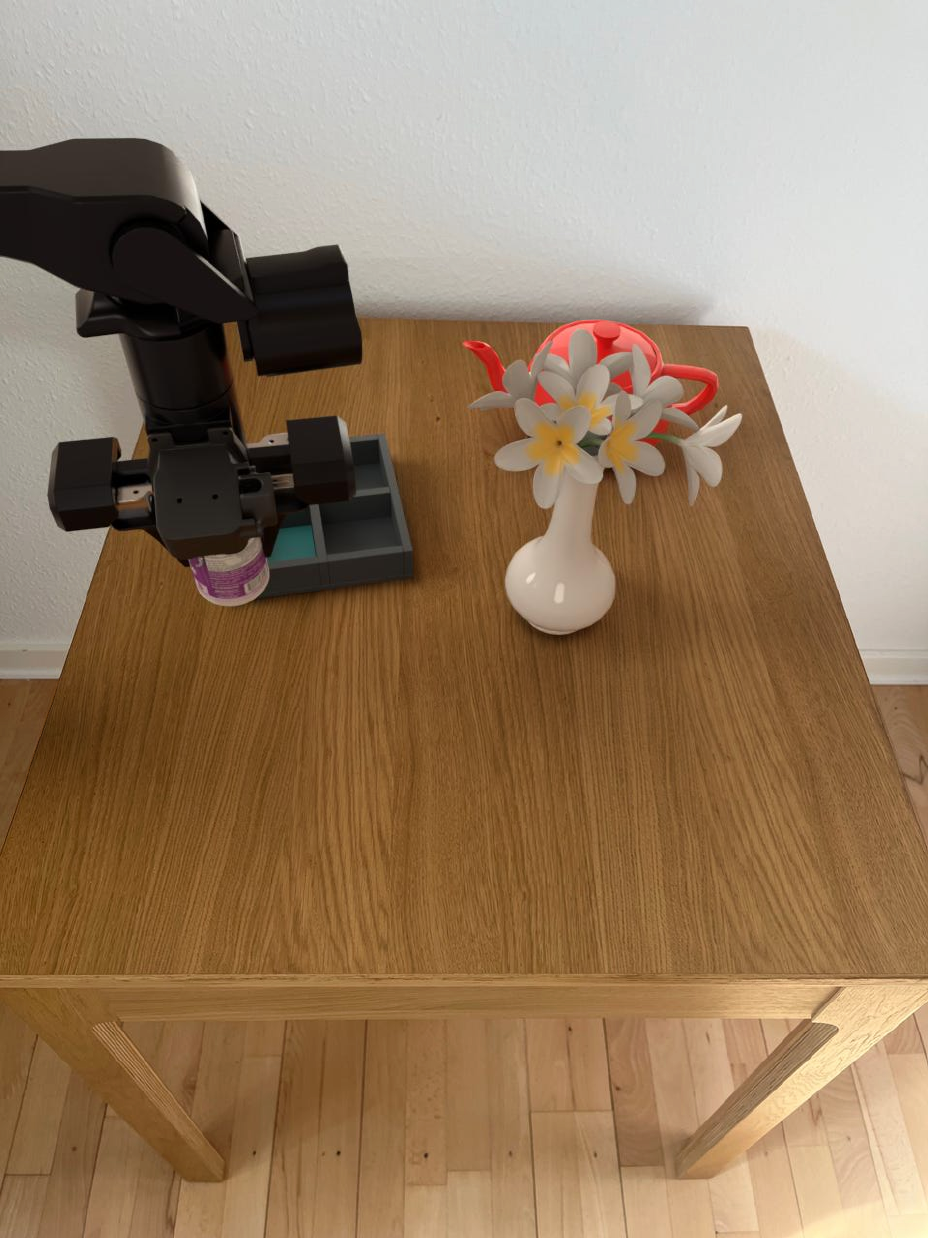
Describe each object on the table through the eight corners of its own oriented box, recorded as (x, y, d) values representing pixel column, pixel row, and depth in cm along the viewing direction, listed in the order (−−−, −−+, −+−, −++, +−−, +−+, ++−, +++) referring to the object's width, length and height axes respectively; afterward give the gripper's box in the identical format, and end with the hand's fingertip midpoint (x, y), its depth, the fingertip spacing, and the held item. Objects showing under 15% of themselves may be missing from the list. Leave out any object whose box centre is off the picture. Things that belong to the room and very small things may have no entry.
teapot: (696, 391, 101) (725, 290, 91) (709, 492, 91) (742, 390, 82) (464, 373, 101) (469, 271, 92) (452, 472, 92) (456, 369, 82)
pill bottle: (190, 563, 70) (162, 467, 63) (261, 547, 71) (242, 450, 64) (203, 617, 67) (175, 523, 59) (277, 599, 68) (259, 504, 61)
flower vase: (678, 667, 78) (766, 435, 59) (457, 663, 78) (470, 427, 58) (658, 552, 86) (728, 313, 67) (457, 547, 86) (468, 305, 66)
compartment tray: (236, 601, 81) (229, 574, 78) (227, 479, 90) (220, 450, 87) (413, 578, 83) (413, 550, 80) (386, 461, 92) (385, 432, 90)
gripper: (1, 492, 49) (86, 666, 61) (359, 455, 51) (372, 629, 64) (21, 361, 56) (94, 541, 68) (338, 334, 58) (352, 513, 70)
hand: (227, 557), depth 67 cm, fingers closed on pill bottle, 5 cm apart
